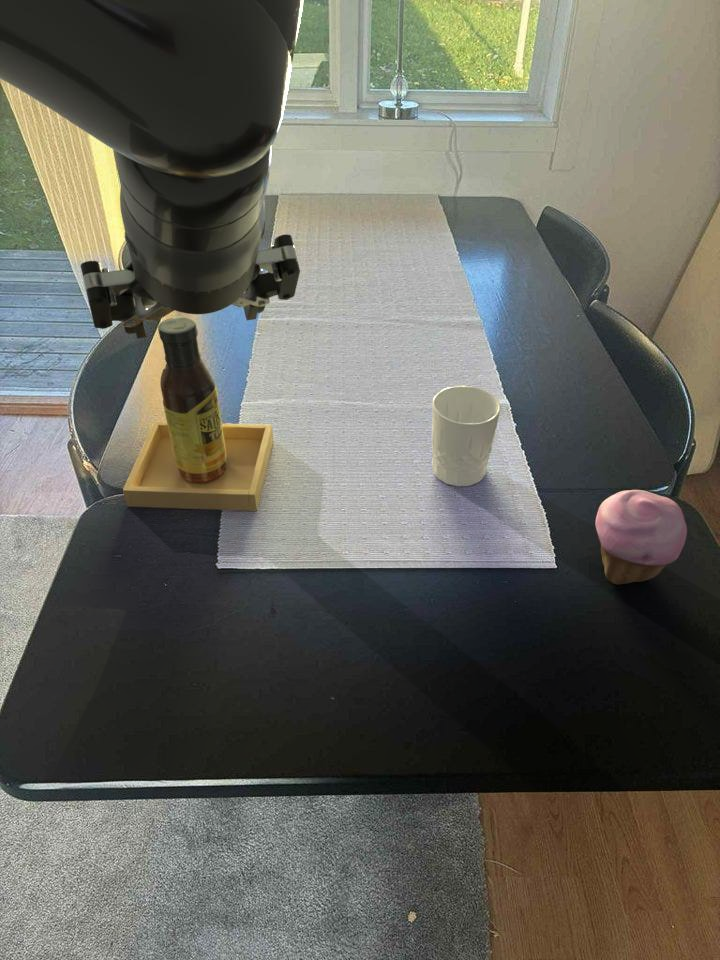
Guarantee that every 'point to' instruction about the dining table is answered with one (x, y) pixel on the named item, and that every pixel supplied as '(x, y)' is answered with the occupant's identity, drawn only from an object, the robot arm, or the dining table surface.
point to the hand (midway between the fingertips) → (194, 316)
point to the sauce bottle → (191, 404)
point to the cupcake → (639, 535)
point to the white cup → (463, 433)
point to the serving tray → (232, 490)
